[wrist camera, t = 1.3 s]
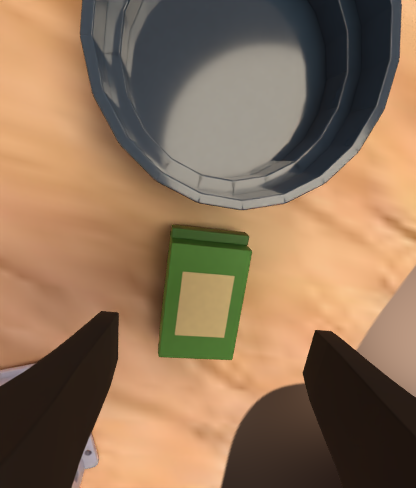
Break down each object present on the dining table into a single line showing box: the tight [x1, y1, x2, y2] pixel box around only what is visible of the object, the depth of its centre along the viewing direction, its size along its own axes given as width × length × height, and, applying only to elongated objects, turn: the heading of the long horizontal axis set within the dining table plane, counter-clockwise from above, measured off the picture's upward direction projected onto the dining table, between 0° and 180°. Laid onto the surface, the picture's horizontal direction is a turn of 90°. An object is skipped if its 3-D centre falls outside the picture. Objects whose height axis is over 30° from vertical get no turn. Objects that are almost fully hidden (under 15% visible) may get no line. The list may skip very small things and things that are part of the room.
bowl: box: [80, 0, 402, 210], centre depth 16 cm, size 14×14×5 cm
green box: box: [158, 224, 252, 360], centre depth 20 cm, size 8×5×3 cm, turn 172°
